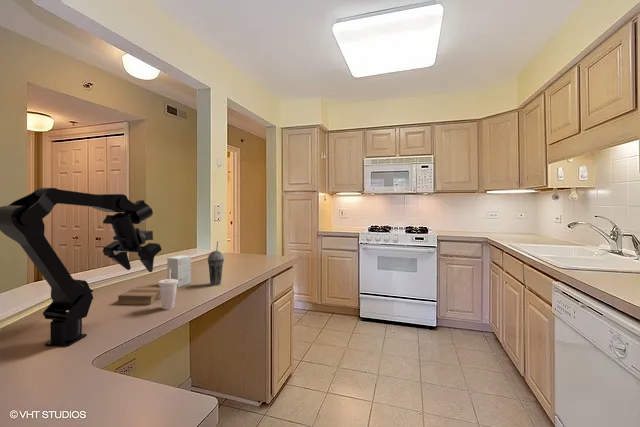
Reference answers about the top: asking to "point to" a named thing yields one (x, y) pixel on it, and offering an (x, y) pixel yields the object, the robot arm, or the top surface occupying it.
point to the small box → (180, 269)
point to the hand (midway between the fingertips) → (140, 270)
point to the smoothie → (168, 291)
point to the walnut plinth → (140, 296)
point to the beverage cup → (215, 266)
